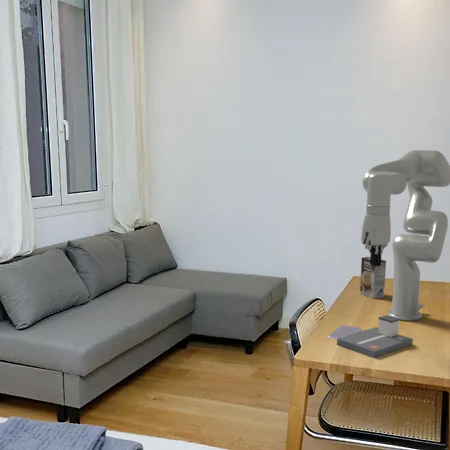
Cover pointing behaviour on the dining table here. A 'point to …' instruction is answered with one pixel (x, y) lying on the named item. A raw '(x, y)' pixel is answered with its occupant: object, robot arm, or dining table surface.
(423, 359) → the dining table surface
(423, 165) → the robot arm
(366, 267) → the coffee box
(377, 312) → the dining table surface
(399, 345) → the switch panel
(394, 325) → the slider knob
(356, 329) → the mobile phone
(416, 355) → the dining table surface
